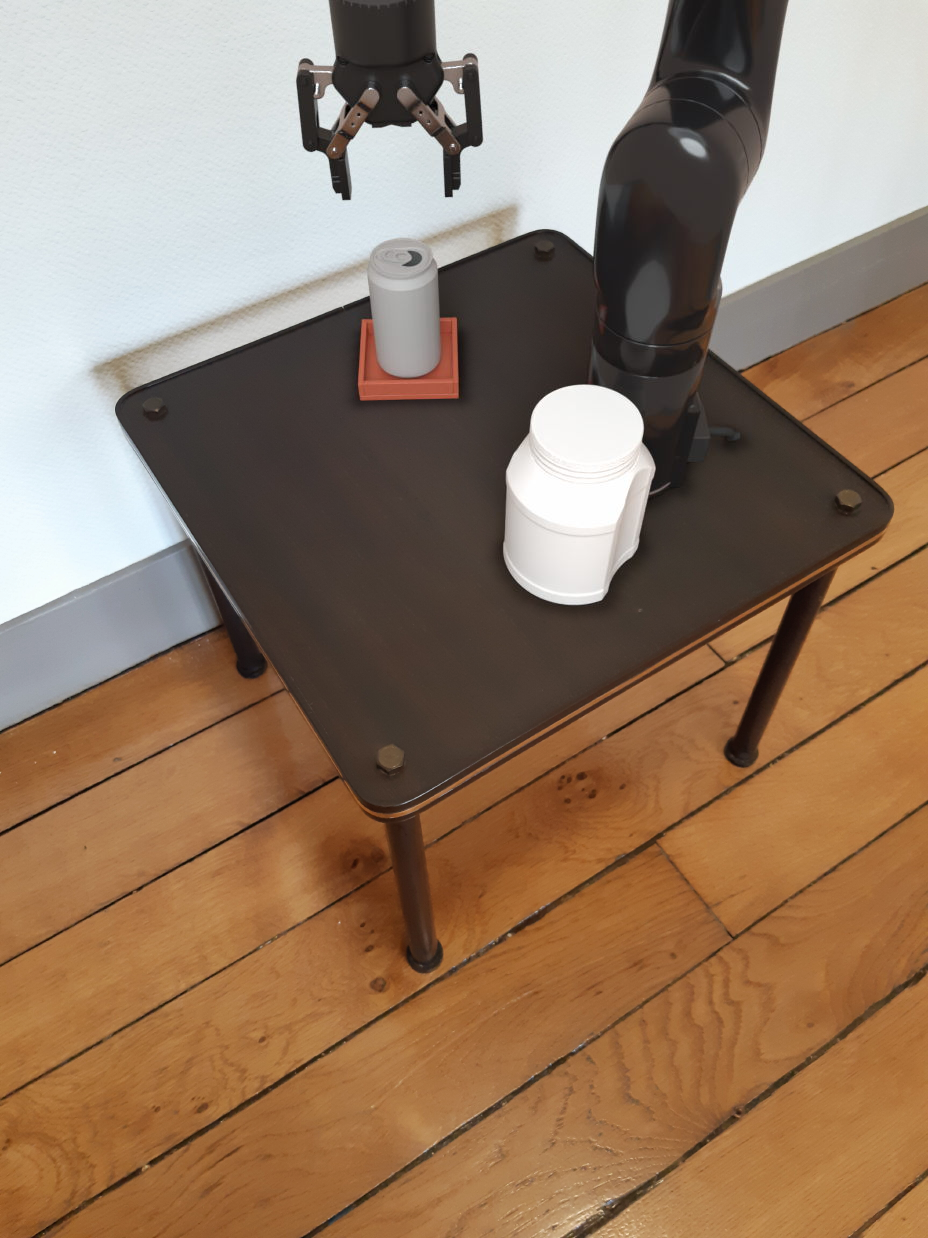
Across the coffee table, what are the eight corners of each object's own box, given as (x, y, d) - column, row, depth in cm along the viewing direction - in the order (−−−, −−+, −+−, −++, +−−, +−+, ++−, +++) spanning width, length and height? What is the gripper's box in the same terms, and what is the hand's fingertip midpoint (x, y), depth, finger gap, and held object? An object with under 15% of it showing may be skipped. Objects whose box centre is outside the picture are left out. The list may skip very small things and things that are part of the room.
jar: (555, 486, 85) (568, 354, 73) (650, 530, 82) (681, 400, 70) (487, 572, 80) (489, 445, 67) (586, 623, 77) (608, 499, 64)
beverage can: (433, 387, 92) (428, 281, 82) (369, 379, 92) (357, 272, 82) (447, 344, 95) (444, 238, 85) (385, 337, 96) (375, 230, 86)
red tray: (457, 333, 97) (456, 316, 95) (458, 398, 92) (458, 381, 90) (363, 335, 97) (361, 318, 95) (360, 400, 92) (357, 384, 90)
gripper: (272, 2, 64) (310, 222, 77) (483, -5, 64) (484, 216, 77) (282, -44, 68) (316, 171, 81) (480, -51, 68) (481, 166, 81)
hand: (398, 193), depth 79 cm, fingers open, 8 cm apart
